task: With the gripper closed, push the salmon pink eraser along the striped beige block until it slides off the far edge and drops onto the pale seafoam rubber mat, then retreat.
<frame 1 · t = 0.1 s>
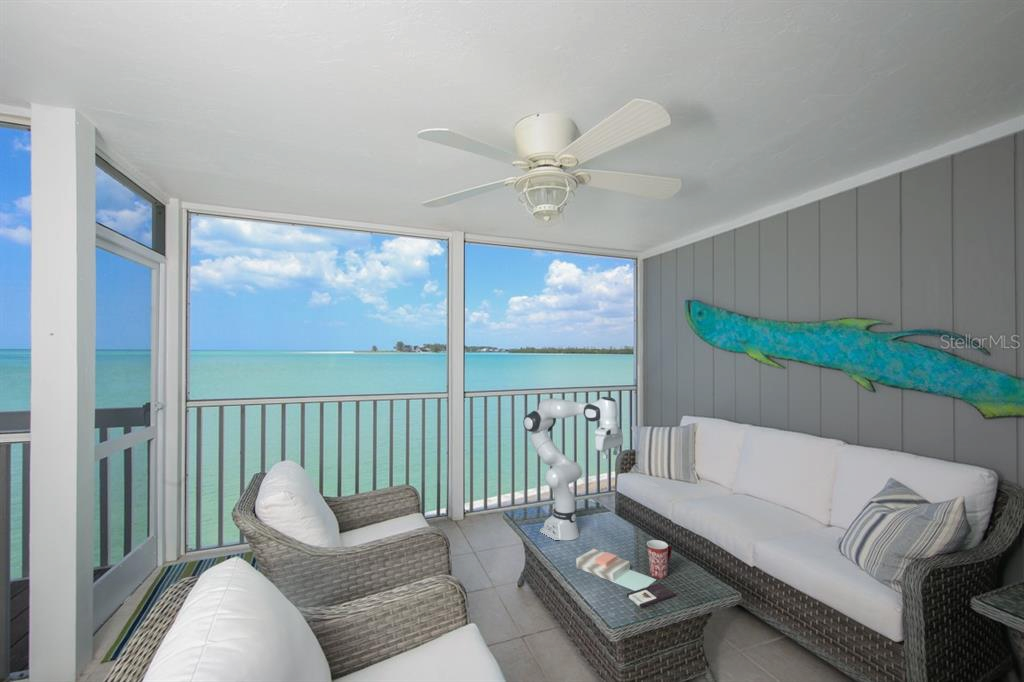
hand: (610, 456, 221), 48 cm above the table, fingers open, 8 cm apart
chocolate bar: (651, 596, 179), on the table, touching mat
salmon pink eraser: (606, 561, 202), point 4 cm above the table, touching striped beige block
mug: (661, 573, 197), on the table
striped beige block: (602, 568, 203), on the table
mat: (633, 580, 192), on the table
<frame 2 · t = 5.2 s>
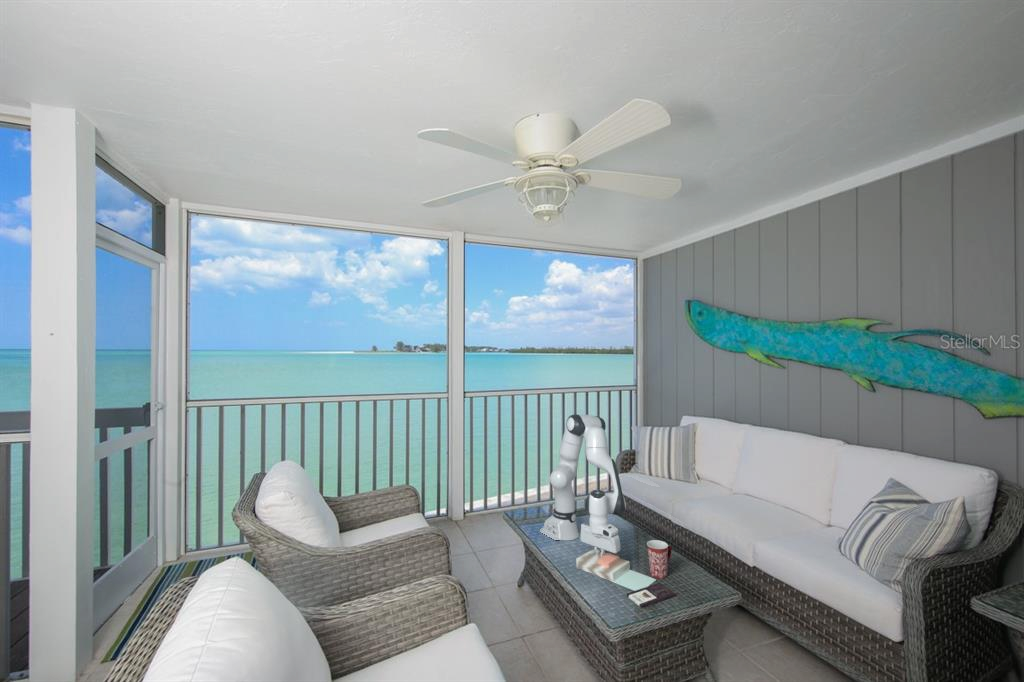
hand: (600, 556, 204), 5 cm above the table, fingers closed
salmon pink eraser: (608, 562, 201), point 4 cm above the table, touching striped beige block, gripper
everything else where it was.
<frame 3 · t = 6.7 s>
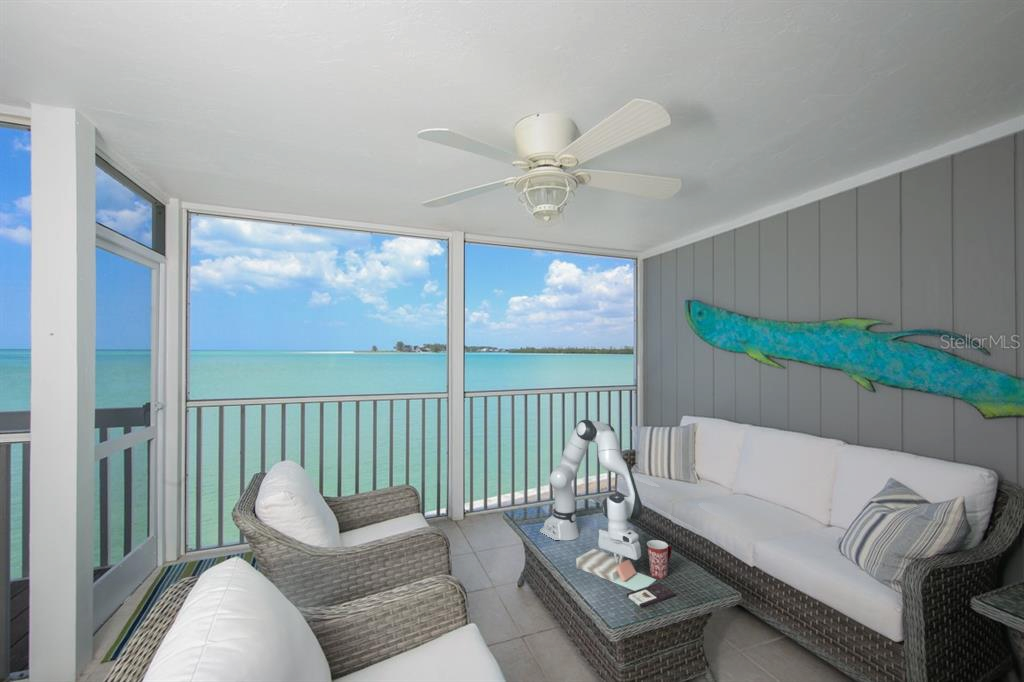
hand: (619, 563, 197), 5 cm above the table, fingers closed, pressing on salmon pink eraser
salmon pink eraser: (624, 570, 195), point 3 cm above the table, tilted 57°, touching gripper, mat
everything else where it was.
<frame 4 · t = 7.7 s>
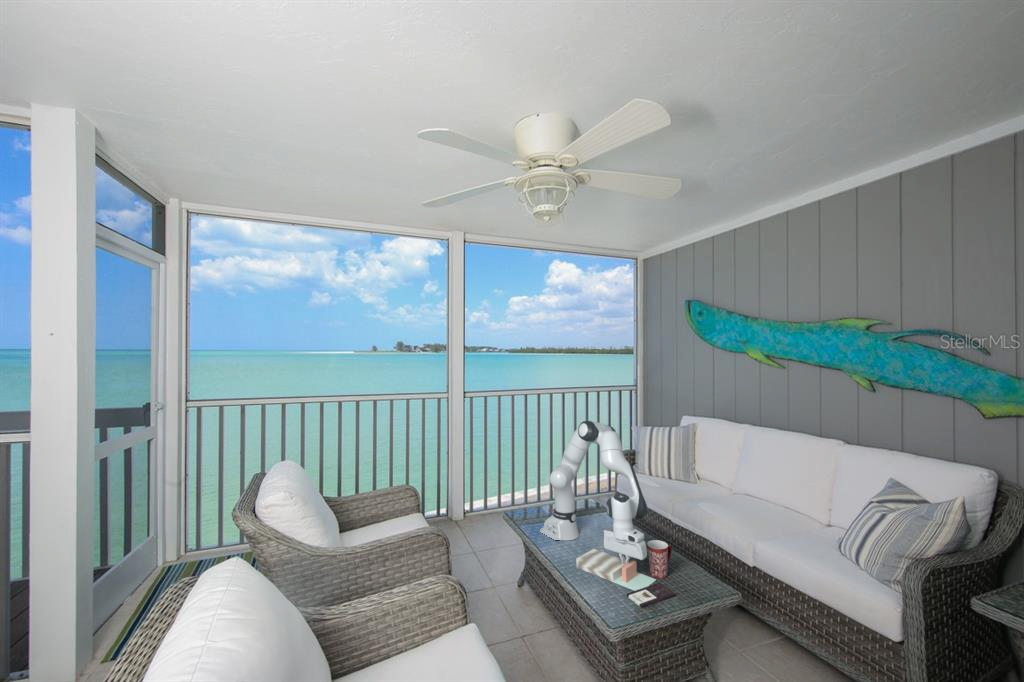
hand: (625, 563, 195), 6 cm above the table, fingers closed
salmon pink eraser: (627, 570, 194), point 3 cm above the table, tilted 90°, touching gripper, mat
everything else where it was.
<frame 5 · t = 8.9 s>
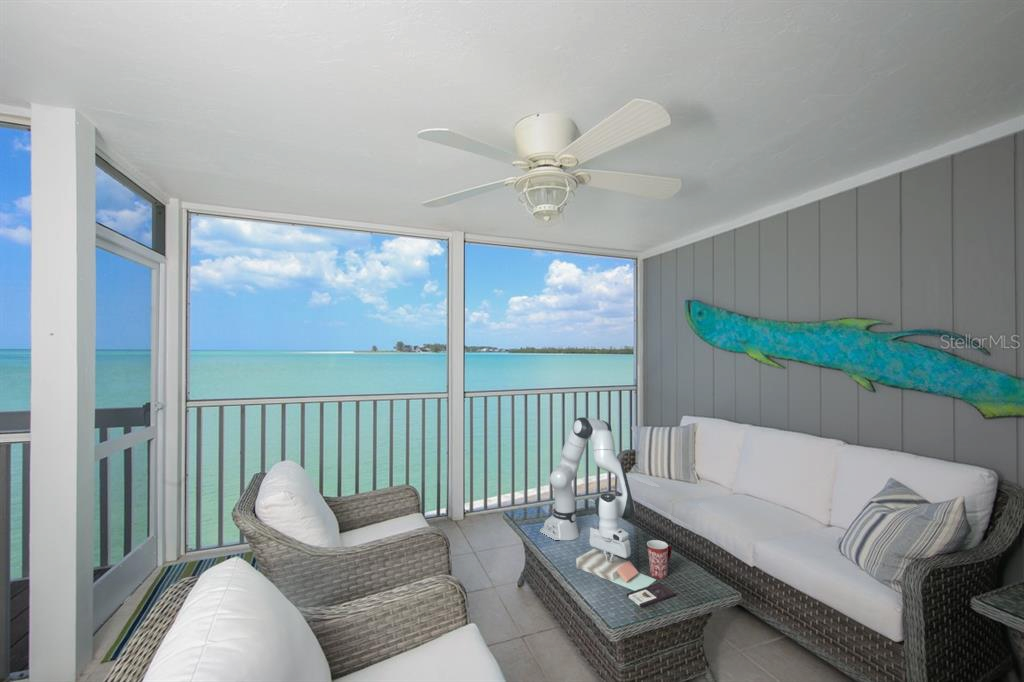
hand: (609, 561, 200), 5 cm above the table, fingers closed
salmon pink eraser: (626, 572, 195), point 2 cm above the table, tilted 39°, touching striped beige block, mat
everything else where it was.
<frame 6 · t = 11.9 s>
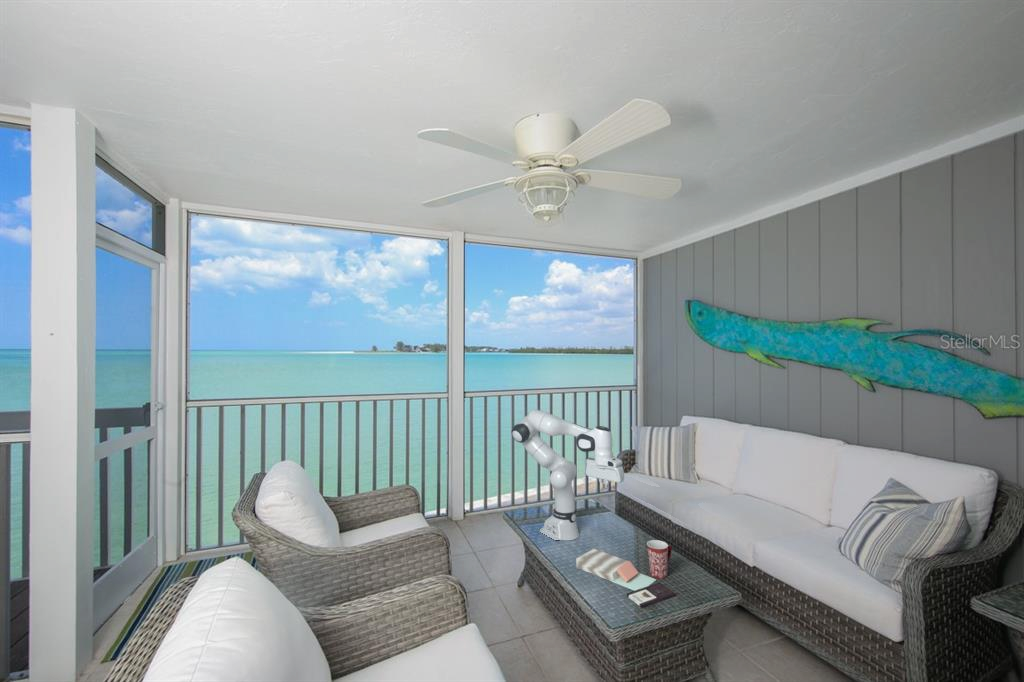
hand: (604, 488, 214), 34 cm above the table, fingers closed
nothing on the table moved.
at the end: salmon pink eraser point 2.2 cm above the table; salmon pink eraser inside the target area on the mat (3.7 cm from its centre), point 2.2 cm above the mat's base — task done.
